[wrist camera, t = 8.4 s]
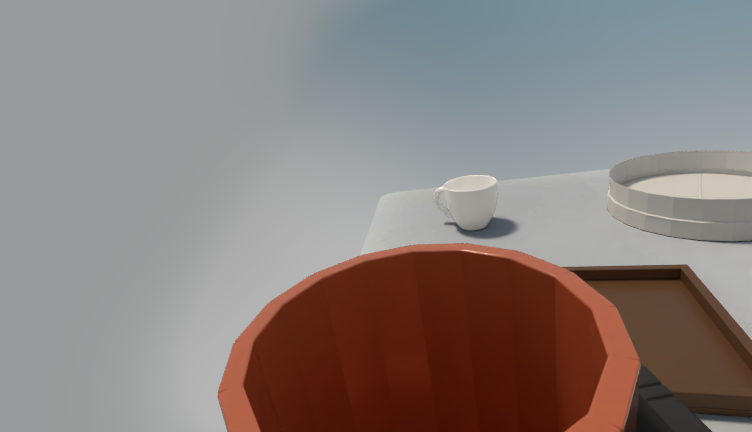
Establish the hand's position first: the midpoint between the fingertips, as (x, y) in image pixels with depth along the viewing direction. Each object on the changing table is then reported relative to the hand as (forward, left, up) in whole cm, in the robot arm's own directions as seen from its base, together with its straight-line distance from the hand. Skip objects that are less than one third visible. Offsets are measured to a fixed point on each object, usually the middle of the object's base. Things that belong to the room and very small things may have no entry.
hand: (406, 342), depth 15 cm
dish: (+29, +50, -16) cm, 60 cm away
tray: (+11, +22, -16) cm, 29 cm away
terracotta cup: (+2, -4, -6) cm, 8 cm away
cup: (-2, +48, -16) cm, 51 cm away
